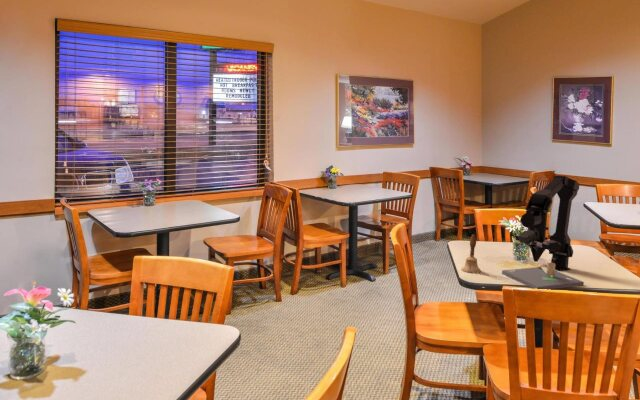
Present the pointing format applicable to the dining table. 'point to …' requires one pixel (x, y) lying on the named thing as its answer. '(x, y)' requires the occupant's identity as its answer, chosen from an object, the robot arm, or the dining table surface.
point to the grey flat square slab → (542, 278)
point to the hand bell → (471, 259)
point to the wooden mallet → (548, 268)
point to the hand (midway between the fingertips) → (535, 261)
